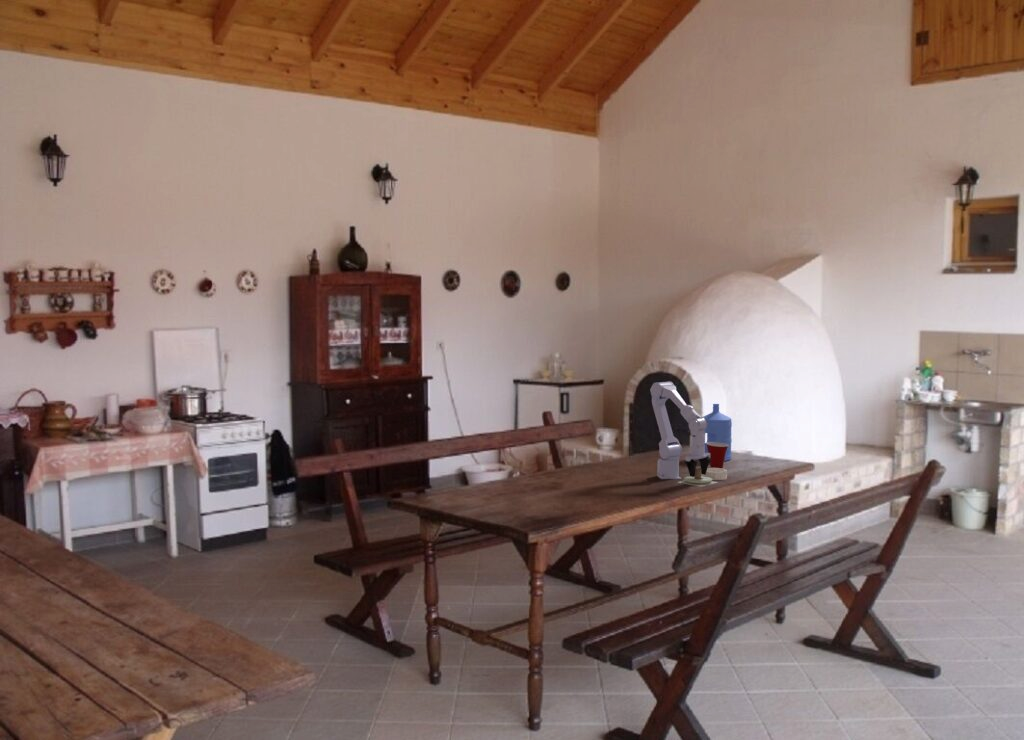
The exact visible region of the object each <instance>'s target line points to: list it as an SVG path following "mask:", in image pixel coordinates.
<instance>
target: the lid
mask: <svg viewBox="0 0 1024 740" xmlns="http://www.w3.org/2000/svg"><path fill="white" fill-rule="evenodd" d="M683 481H686V482H690V483H693V484H704V483H709V482H712V481H713V480H712V478H710V477H704V476H701V467H696V469H695V477H691V476H690V475H689V476H685V477H683Z"/></svg>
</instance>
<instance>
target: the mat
mask: <svg viewBox="0 0 1024 740" xmlns="http://www.w3.org/2000/svg"><path fill="white" fill-rule="evenodd" d="M676 483H677V484H685V485H689V486H690V485H691V486H695V487H701V488H702V487H705V486H709V485H713V484H717V483H719V481H715V480H712V482H709V483H704V484H693V483H690V482H686V481H684V480H682V481H677V482H676Z"/></svg>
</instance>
